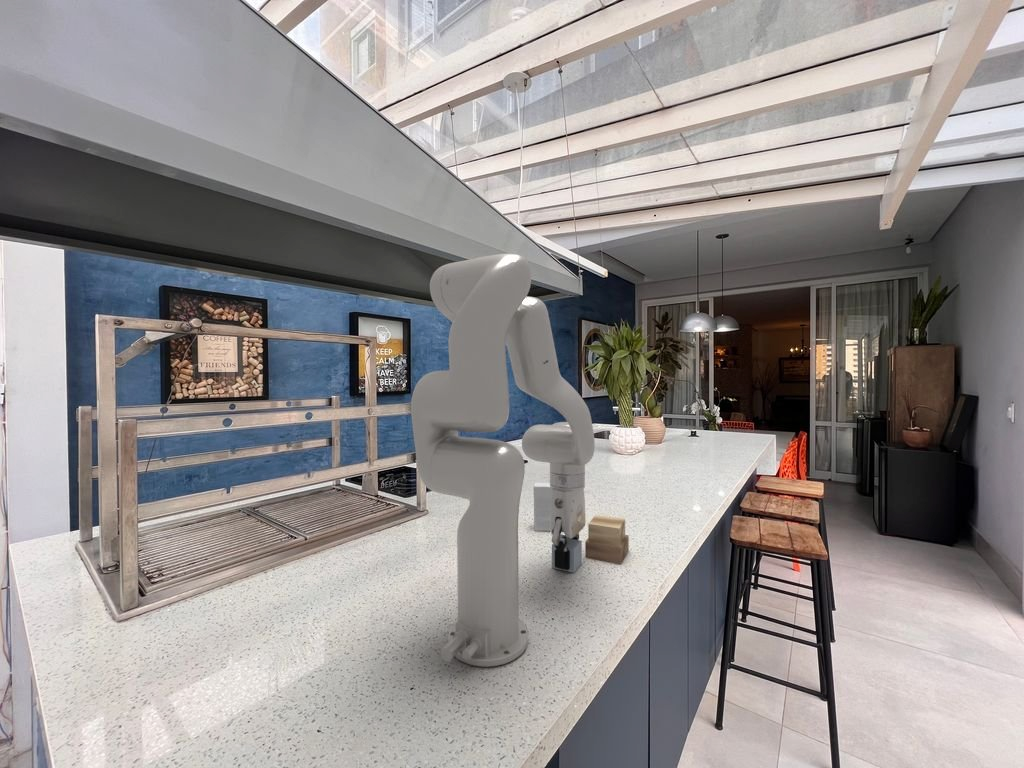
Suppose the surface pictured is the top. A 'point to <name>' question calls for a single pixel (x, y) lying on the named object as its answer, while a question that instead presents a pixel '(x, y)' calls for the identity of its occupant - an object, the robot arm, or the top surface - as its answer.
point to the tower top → (606, 530)
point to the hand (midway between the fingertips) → (566, 562)
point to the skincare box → (542, 506)
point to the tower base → (607, 551)
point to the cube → (571, 554)
